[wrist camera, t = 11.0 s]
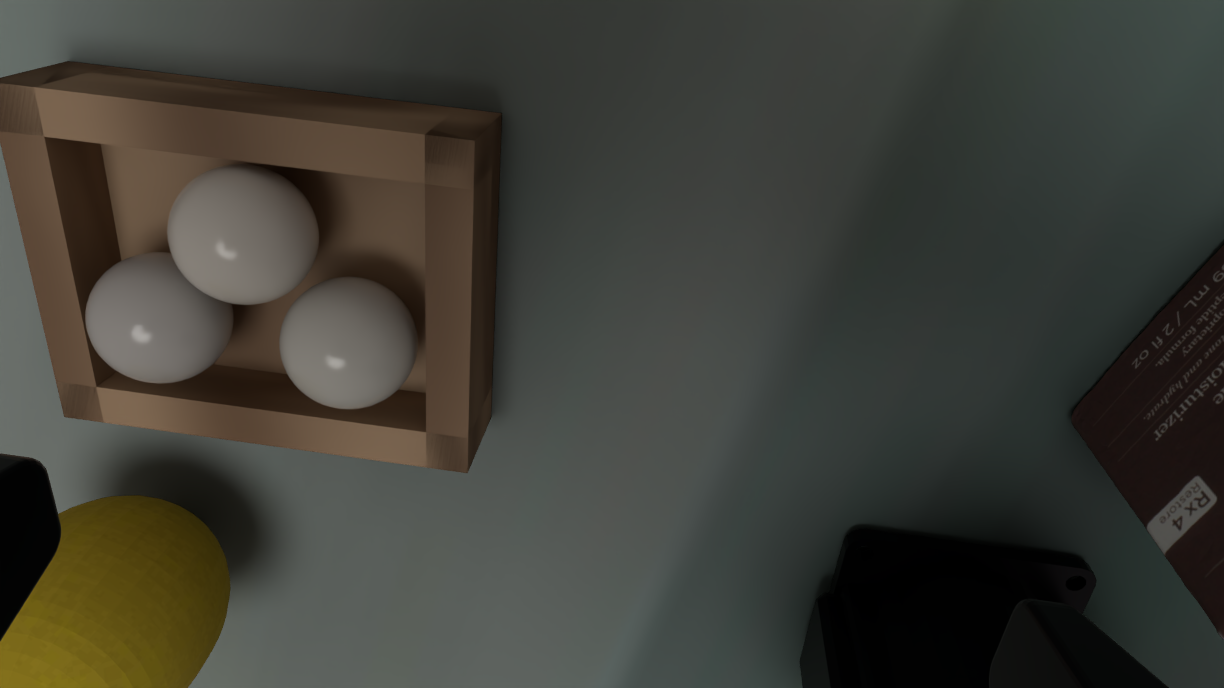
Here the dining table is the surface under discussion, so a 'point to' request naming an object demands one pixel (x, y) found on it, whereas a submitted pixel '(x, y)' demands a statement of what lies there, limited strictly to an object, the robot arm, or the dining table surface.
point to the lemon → (121, 601)
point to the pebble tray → (348, 246)
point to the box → (1171, 433)
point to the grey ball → (243, 234)
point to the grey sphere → (348, 342)
